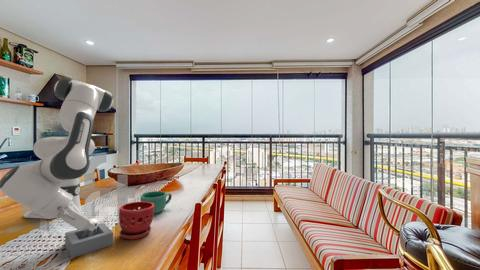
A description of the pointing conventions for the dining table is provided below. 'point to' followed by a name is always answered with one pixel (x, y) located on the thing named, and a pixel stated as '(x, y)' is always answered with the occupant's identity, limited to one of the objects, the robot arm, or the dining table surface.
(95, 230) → the milkshake
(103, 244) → the socket collar
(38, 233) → the dining table surface
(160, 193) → the mug
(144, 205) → the plant pot
